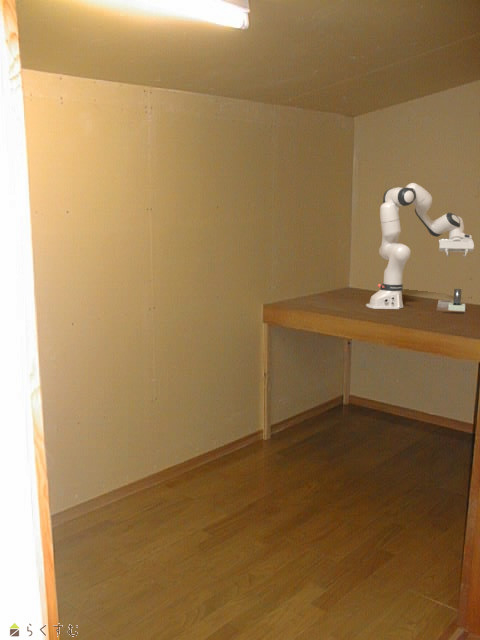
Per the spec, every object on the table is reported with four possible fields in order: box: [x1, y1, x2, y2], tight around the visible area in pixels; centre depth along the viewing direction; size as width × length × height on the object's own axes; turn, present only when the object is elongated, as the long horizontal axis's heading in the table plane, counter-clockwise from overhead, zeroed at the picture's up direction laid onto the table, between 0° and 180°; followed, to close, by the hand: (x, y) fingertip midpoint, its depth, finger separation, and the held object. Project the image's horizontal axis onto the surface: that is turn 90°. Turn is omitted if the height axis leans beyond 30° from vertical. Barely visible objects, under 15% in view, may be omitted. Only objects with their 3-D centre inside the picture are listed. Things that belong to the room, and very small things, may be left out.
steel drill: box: [452, 288, 462, 305], centre depth 346 cm, size 4×4×12 cm
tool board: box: [436, 303, 467, 315], centre depth 353 cm, size 22×16×2 cm
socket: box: [437, 299, 453, 307], centre depth 358 cm, size 9×9×3 cm
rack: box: [448, 303, 466, 312], centre depth 347 cm, size 9×9×3 cm
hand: (456, 255), depth 359 cm, fingers open, 8 cm apart
